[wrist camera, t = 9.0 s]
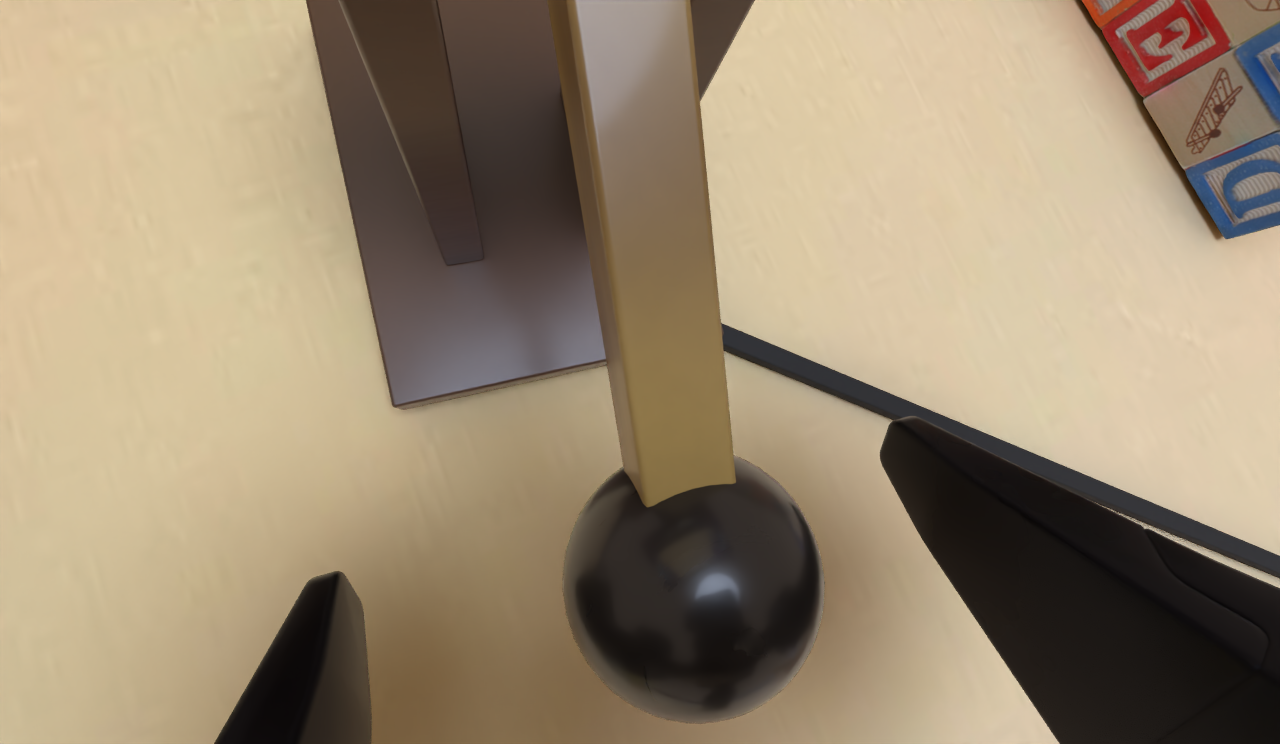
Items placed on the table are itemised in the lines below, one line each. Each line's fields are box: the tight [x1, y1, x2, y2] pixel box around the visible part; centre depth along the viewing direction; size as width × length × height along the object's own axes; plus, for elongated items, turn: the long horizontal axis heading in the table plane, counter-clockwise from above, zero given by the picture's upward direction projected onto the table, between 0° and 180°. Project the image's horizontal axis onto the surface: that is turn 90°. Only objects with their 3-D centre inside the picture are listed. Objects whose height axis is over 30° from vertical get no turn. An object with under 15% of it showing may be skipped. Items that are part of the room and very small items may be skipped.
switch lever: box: [547, 0, 825, 724], centre depth 6 cm, size 13×3×3 cm, turn 14°
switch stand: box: [306, 0, 755, 410], centre depth 10 cm, size 11×9×15 cm
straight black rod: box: [721, 323, 1280, 578], centre depth 20 cm, size 25×1×1 cm, turn 70°
